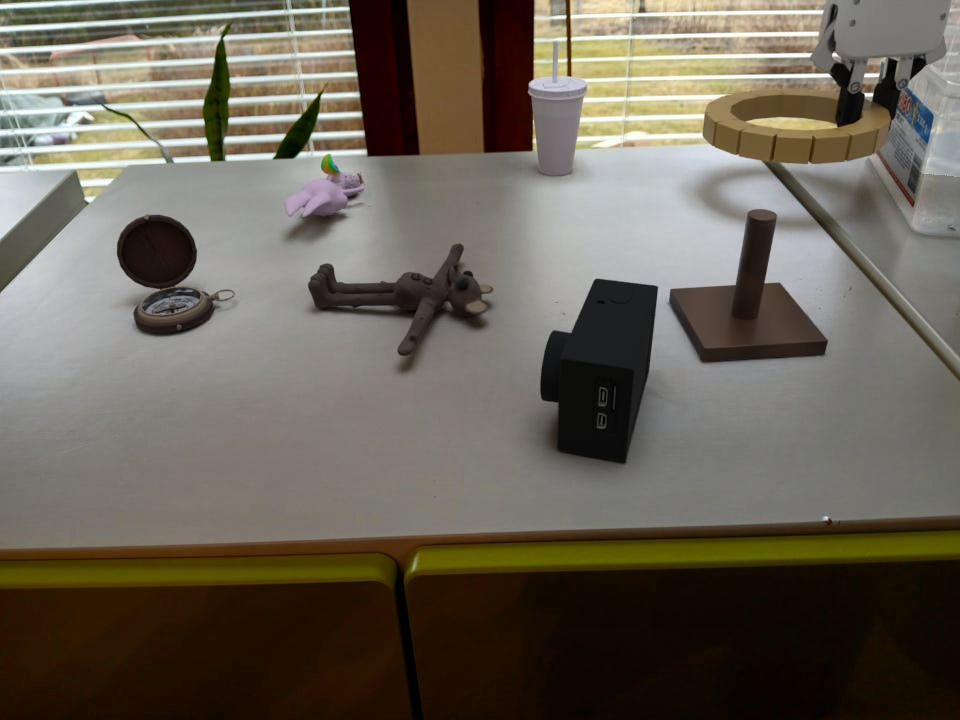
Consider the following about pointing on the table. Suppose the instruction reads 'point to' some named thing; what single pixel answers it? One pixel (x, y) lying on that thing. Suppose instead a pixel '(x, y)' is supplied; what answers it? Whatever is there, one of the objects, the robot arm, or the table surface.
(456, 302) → the bear figurine
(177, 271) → the compass
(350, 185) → the rabbit figure
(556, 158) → the smoothie
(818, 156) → the block ring
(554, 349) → the digital camera
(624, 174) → the table surface
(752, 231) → the brown peg stand
